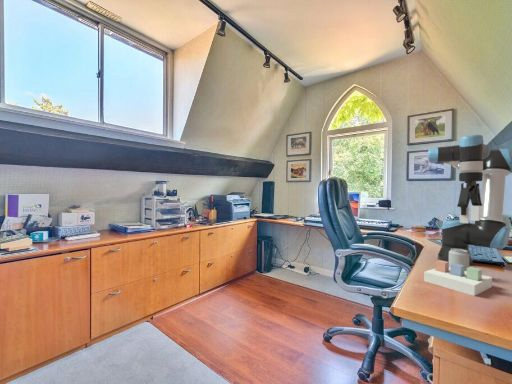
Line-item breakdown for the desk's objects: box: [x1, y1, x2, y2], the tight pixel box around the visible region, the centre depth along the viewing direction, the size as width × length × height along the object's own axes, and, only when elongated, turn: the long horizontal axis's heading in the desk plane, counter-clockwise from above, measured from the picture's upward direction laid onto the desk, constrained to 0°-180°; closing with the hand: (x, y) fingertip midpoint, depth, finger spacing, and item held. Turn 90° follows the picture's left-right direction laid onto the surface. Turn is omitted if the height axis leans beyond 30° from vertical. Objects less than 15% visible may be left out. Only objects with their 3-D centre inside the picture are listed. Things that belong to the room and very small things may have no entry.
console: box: [423, 267, 493, 297], centre depth 102 cm, size 18×17×4 cm
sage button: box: [467, 266, 483, 281], centre depth 97 cm, size 4×4×5 cm
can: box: [449, 248, 471, 271], centre depth 113 cm, size 8×8×12 cm
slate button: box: [450, 263, 465, 277], centre depth 102 cm, size 4×4×5 cm
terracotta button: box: [434, 259, 449, 273], centre depth 107 cm, size 4×4×5 cm
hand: (469, 221), depth 103 cm, fingers open, 13 cm apart
